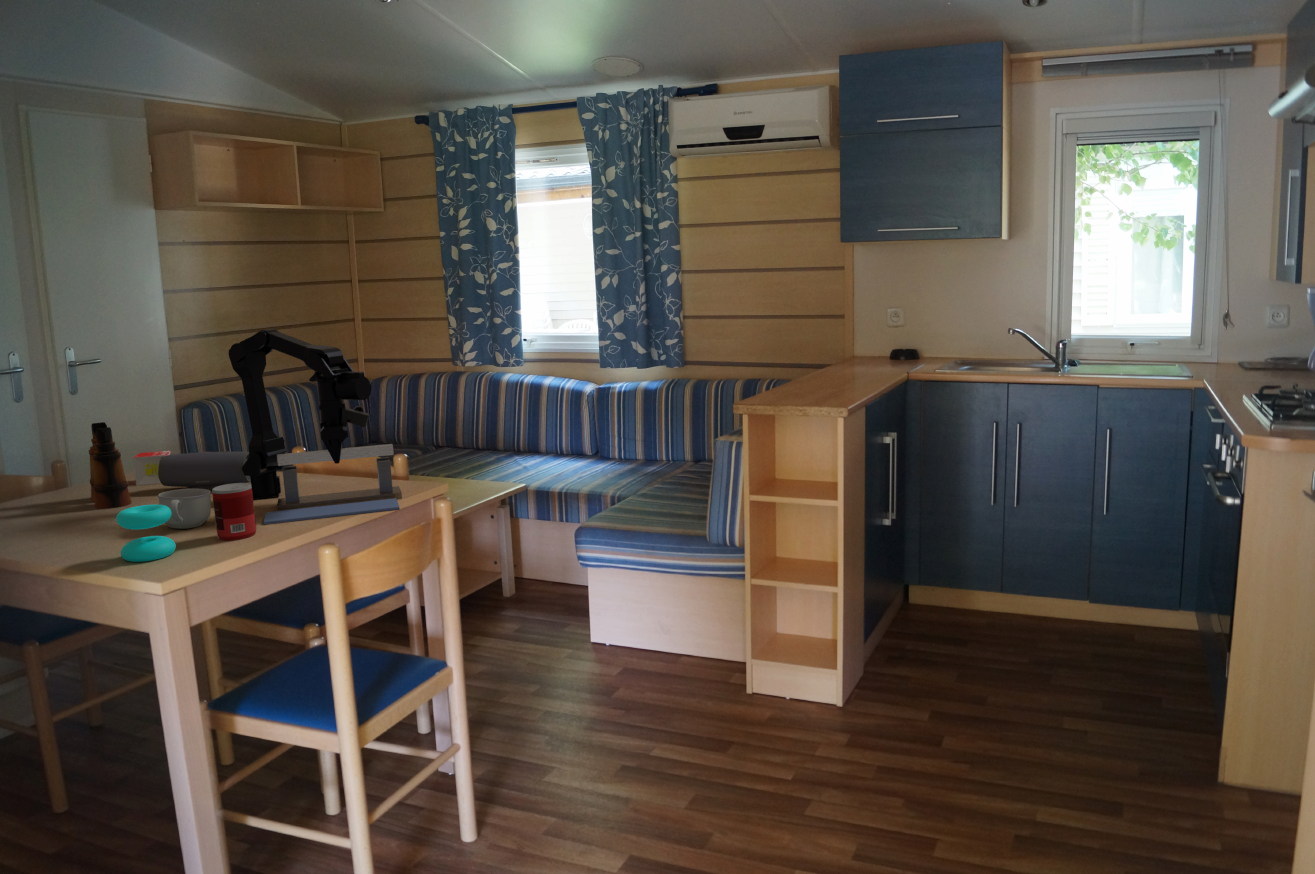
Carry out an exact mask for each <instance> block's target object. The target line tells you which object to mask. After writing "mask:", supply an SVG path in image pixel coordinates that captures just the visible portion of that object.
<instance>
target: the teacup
mask: <svg viewBox="0 0 1315 874" xmlns="http://www.w3.org/2000/svg"><path fill="white" fill-rule="evenodd" d="M211 494H212V491H211V490H207V489H189V488H180V489H172V490H167V491H163V492H160V493H158V495H157V498H158V505H165V506H167V507H169V508H170V510H171V513H172V514H171V517H170V519H169V520H168V521H167V522H165V523H164V524H166V525H167V526H168V527H170V528H171V529H178V530H181V529H192V528H198V527H200V526H202V525H204V523H205V522H206V521H208V520H209V518H210V516H211V511H212V508H211V507H212V503H211V501H212V500H211V499H212V497H211Z"/></svg>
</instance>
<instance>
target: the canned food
mask: <svg viewBox="0 0 1315 874" xmlns="http://www.w3.org/2000/svg"><path fill="white" fill-rule="evenodd" d="M211 490H212V491H211V494H212V504H213V509H214V510H213V511H214V518H215V528H216V535H217V537H218V539H219V540H221V541H225V542H226V541H239V540H243V539H248V538H251V537H252V536H254V535H256V532H257V524H256V523H257V522H256V513H255V512H256V511H255V506H254V499H253V494H252V487H251V483H250V482H249V483H233V484H226V485H221V486H217V487H215V488H213V489H211Z"/></svg>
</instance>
